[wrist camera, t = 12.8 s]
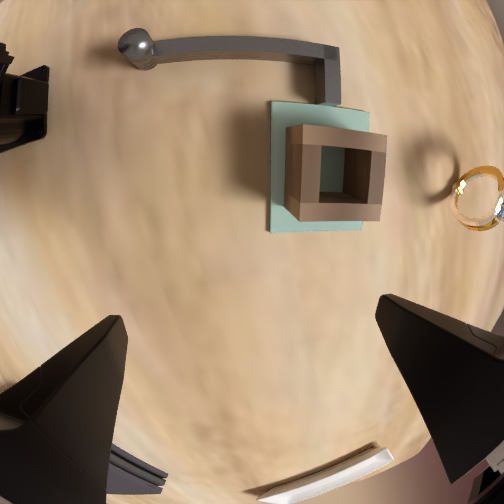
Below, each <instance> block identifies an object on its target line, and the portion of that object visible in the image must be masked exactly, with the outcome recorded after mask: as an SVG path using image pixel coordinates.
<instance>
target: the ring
mask: <svg viewBox="0 0 504 504" xmlns="http://www.w3.org/2000/svg"><path fill="white" fill-rule="evenodd" d="M482 176H488V177H492V178H494V179H496V180H497V181H498V191H499V192H500V194H499V197H498V199H497V201H496V203H495V205H494V207H493V208H492V210H491V211H490V212H489V213H488V214H486V215H485V216H482V217H478V218H472V217H467V216H464V215H463V214H461V213H460V212H459V211H458V207H457V200H458V196H459V194H462V192H463V187H464V186H465V185H466V184H467V183H468V182H470V181H471V180H473V179H475V178H478V177H482ZM452 188H453V189H452V191H451V194H450V206H451V209H452V211H453V213H454V215H455V217H456V218H457V220H458V221H459V222H460V223H461V224H462V225H463V226H465V227H466V228H468V229H471V230H474V231H485V230H489V229H491V228H493V227H495V226H496V225H498V224H499V223H500V224H501V223H503V222H504V177H503V175H502V173H501V171H500V170H499V169H497V168H496V167H493V166H481V167H477V168H474V169H472V170H470V171H468V172H467V173H465V174H464V175H463V176H462V177H461V178H460V179H459V180H458V181H457V182H455V183H454V184H453V185H452Z"/></svg>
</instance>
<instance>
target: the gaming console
mask: <svg viewBox="0 0 504 504" xmlns="http://www.w3.org/2000/svg"><path fill="white" fill-rule="evenodd" d="M167 476H168V473H165V472H163V471H161V470H159V469H157V468H155V467H153V466H151V465H149V464H147V463H145V462H143V461H142V460H140V459H138V458H136V457H134V456H133V455H131V454H129V453H127V452H126V451H124V450H122V449H121V448H119V447H117V446H116V445H114V444H112V446H111V454H110V461H109V470H108V480H107V489H106V490H107V493H106V494H129V495H138V494H161V492H162V489H163V488H161V487H158V486H163V485H164V484H165V481H166V480H164V479H162V478H167Z"/></svg>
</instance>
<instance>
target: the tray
mask: <svg viewBox="0 0 504 504" xmlns="http://www.w3.org/2000/svg"><path fill="white" fill-rule="evenodd" d="M393 460H394V457H393V456H392V455H391V453H390V451H389V449H388V448H387V447H381V448H375V449H373V448H370V449H368V450H366V451H364V452H362V453H360V454H358V455H356V456H354V457H352V458H350V459H348V460H345V461H343V462H341V463H339V464H337V465H334V466H332V467H330V468H327V469H325V470H323V471H320V472H318V473H315V474H312V475H310V476H307V477H304V478H302V479H299V480H296V481H293V482H290V483H287V484H284V485H280V486H277V487H274V488H272V489H271V490H270V491H268V492H266V493H265V494H263V495H261V496H260V497H258V498H257V499H256V500H257V501H261V502H267V503H273V504H293V503H296V502H299V501H302V500H306V499H309V498H312V497H314V496H317V495H320V494H322V493H325V492H328V491H331V490H333V489H335V488H338V487H341V486H343V485H345V484H348V483H350V482H352V481H355V480H357V479H359V478H361V477H363V476H366V475H368V474H370V473H372V472H374V471H376V470H378V469H380V468H381V467H383V466H385V465H387V464H389V463H390V462H392V461H393Z"/></svg>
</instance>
